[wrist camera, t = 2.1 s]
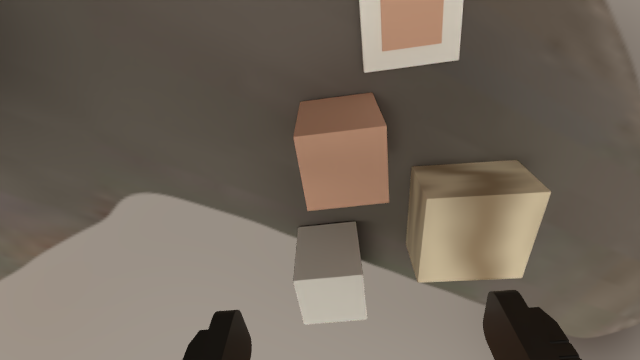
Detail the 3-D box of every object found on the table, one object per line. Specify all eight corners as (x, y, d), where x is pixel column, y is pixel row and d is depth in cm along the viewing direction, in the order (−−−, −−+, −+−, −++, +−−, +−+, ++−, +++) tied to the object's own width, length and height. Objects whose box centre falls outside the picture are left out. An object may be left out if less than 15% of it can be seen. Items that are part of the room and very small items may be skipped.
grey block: (307, 268, 31) (304, 324, 26) (298, 227, 29) (293, 281, 24) (359, 263, 31) (367, 319, 26) (355, 221, 28) (363, 274, 23)
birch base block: (405, 243, 30) (417, 282, 26) (411, 166, 26) (426, 198, 22) (496, 239, 30) (521, 277, 26) (516, 159, 25) (551, 191, 22)
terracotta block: (310, 164, 26) (307, 211, 20) (299, 101, 23) (293, 137, 18) (375, 156, 25) (389, 202, 20) (372, 92, 23) (386, 125, 18)
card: (363, 71, 22) (364, 73, 21) (356, -37, 19) (357, -37, 18) (456, 58, 21) (459, 60, 21) (464, -54, 18) (469, -55, 18)
